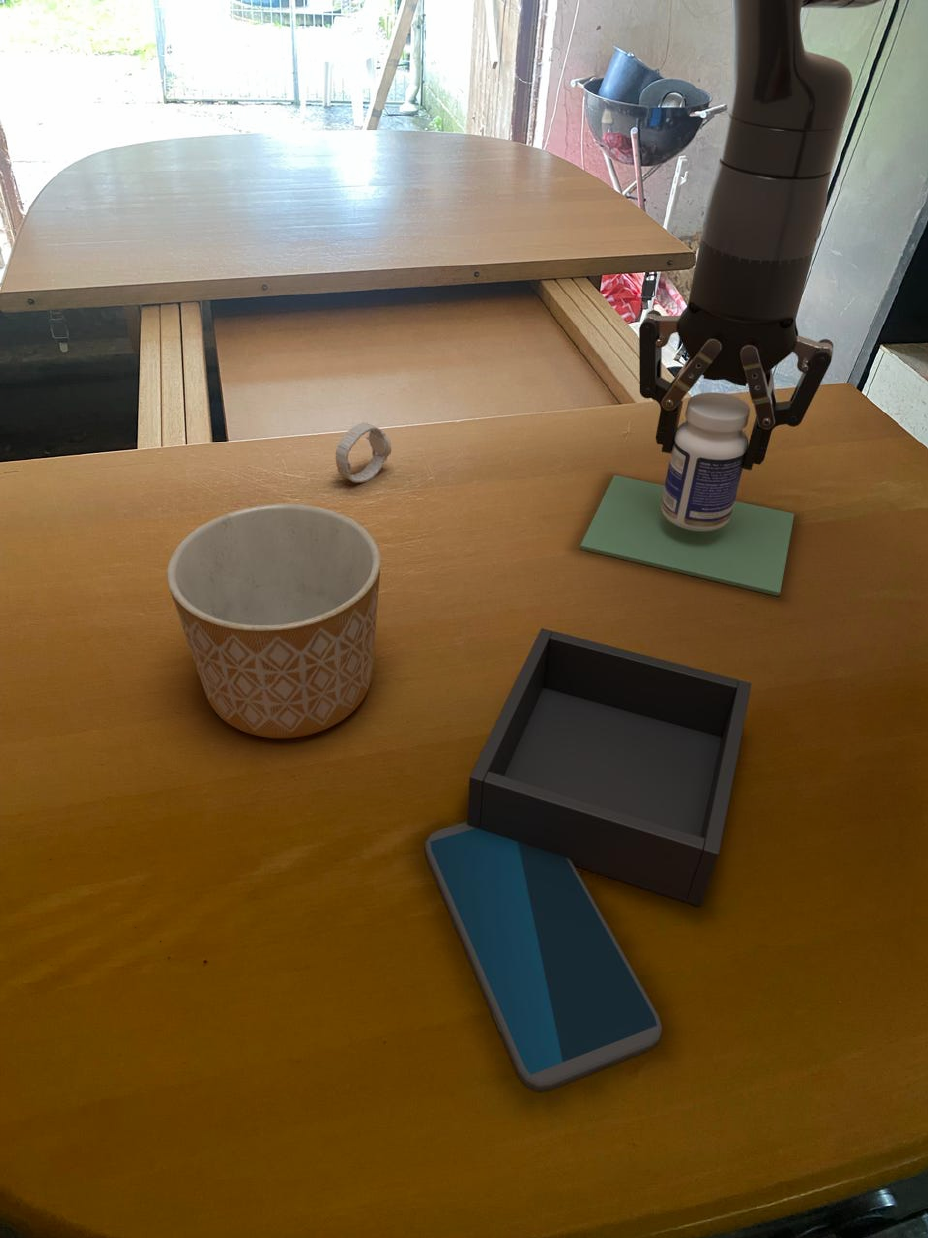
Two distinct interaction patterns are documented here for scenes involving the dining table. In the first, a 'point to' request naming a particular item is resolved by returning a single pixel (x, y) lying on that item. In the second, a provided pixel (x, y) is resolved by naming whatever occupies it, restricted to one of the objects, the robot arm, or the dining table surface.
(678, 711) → the black box
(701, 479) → the pill bottle
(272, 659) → the planter
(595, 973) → the smartphone
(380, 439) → the wristwatch
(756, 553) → the mat
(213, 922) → the dining table surface
